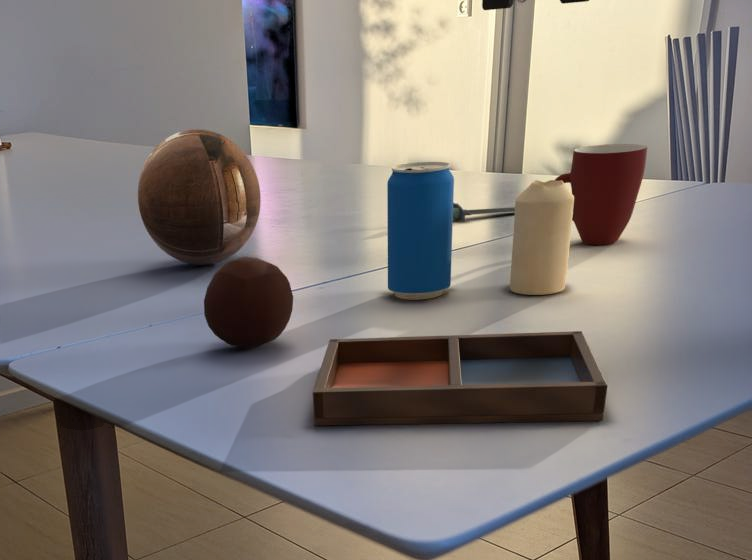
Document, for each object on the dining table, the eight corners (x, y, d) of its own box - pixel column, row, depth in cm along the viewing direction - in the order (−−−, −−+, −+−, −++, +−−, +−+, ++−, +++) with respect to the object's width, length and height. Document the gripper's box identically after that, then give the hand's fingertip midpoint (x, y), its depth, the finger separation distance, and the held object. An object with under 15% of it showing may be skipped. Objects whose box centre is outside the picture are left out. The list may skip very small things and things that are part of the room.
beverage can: (425, 283, 99) (427, 159, 93) (463, 293, 94) (468, 163, 88) (375, 293, 97) (374, 167, 90) (411, 305, 92) (412, 172, 85)
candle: (530, 298, 91) (539, 187, 85) (498, 288, 95) (505, 182, 90) (576, 289, 92) (588, 180, 87) (543, 279, 97) (552, 175, 91)
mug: (542, 250, 109) (550, 156, 103) (544, 236, 115) (551, 147, 109) (636, 248, 106) (650, 151, 100) (633, 234, 112) (645, 142, 107)
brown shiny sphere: (137, 261, 121) (119, 132, 113) (246, 246, 124) (235, 119, 116) (161, 283, 109) (141, 141, 100) (280, 266, 112) (271, 126, 104)
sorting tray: (578, 362, 73) (581, 330, 72) (602, 420, 63) (607, 385, 61) (330, 369, 77) (329, 339, 75) (314, 425, 66) (312, 391, 65)
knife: (408, 212, 124) (396, 202, 128) (407, 228, 126) (395, 218, 130) (565, 202, 129) (549, 193, 133) (562, 218, 130) (546, 209, 134)
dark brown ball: (257, 327, 89) (251, 243, 85) (317, 345, 83) (313, 255, 79) (188, 346, 85) (177, 259, 81) (244, 366, 79) (236, 273, 75)
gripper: (511, -278, 66) (496, 9, 75) (667, -263, 73) (636, -3, 83) (441, -250, 71) (435, 14, 81) (593, -239, 79) (571, 3, 88)
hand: (537, 5), depth 82 cm, fingers open, 9 cm apart
